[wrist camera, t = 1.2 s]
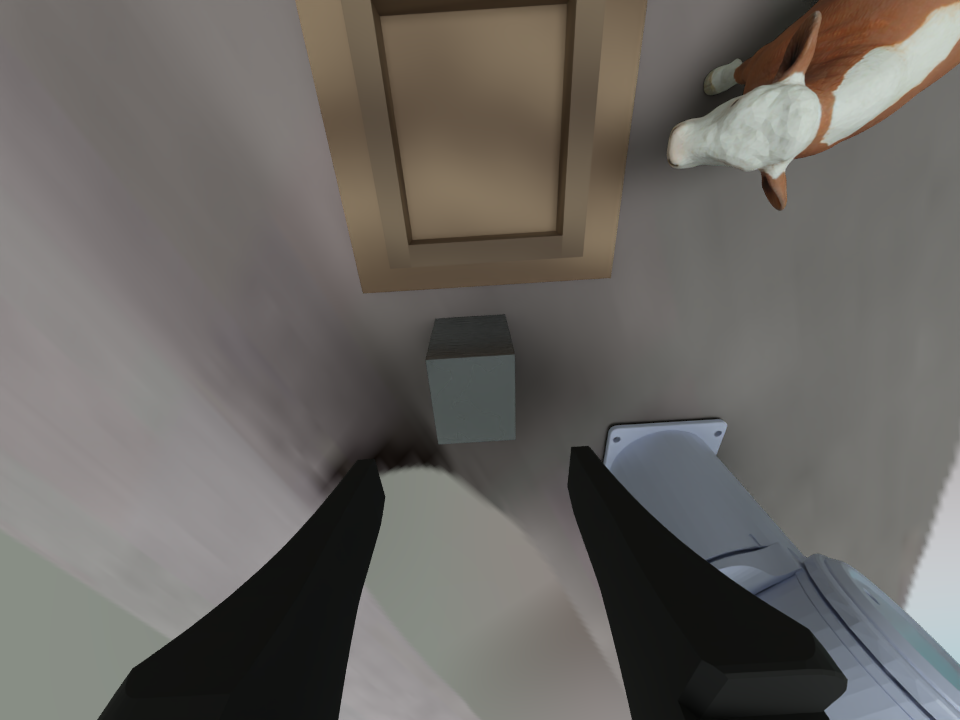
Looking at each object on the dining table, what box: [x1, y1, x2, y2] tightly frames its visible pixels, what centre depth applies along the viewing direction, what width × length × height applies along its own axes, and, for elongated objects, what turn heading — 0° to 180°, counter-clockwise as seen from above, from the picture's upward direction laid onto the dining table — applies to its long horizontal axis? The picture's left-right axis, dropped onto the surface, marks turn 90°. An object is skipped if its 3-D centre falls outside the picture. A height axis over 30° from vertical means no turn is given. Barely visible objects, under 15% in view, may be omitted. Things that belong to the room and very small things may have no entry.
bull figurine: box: [667, 0, 960, 211], centre depth 11 cm, size 4×13×8 cm, turn 128°
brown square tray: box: [295, 0, 647, 293], centre depth 14 cm, size 13×13×2 cm
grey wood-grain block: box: [426, 314, 515, 444], centre depth 18 cm, size 5×4×5 cm
